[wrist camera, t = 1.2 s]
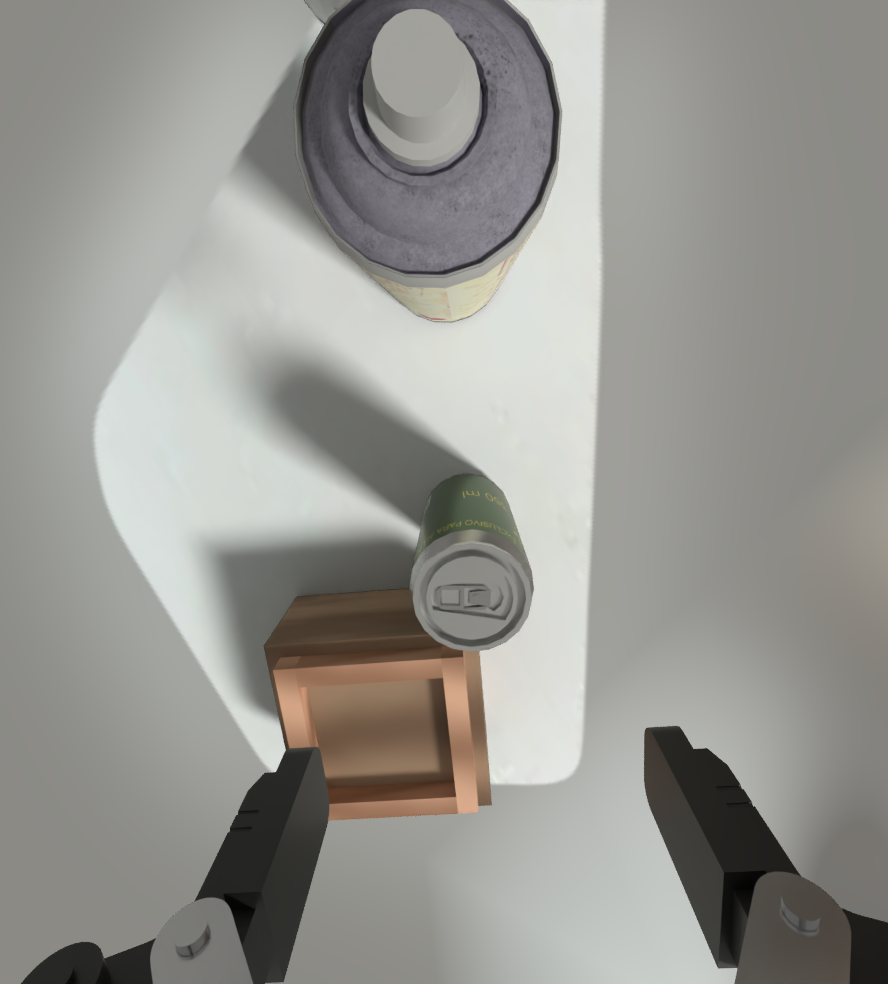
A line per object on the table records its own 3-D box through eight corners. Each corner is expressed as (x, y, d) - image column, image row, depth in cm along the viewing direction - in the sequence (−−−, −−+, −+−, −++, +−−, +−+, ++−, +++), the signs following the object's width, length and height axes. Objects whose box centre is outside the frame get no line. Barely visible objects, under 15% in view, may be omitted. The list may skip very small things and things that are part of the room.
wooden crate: (296, 596, 34) (255, 658, 28) (472, 583, 34) (477, 642, 27) (324, 744, 38) (293, 832, 31) (486, 734, 37) (492, 822, 30)
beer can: (425, 550, 33) (408, 655, 22) (424, 470, 32) (405, 537, 20) (507, 551, 33) (534, 657, 22) (510, 471, 32) (540, 538, 20)
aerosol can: (394, 180, 28) (248, -219, 8) (517, 204, 28) (650, -133, 9) (376, 310, 29) (220, 229, 10) (491, 332, 30) (553, 293, 10)
